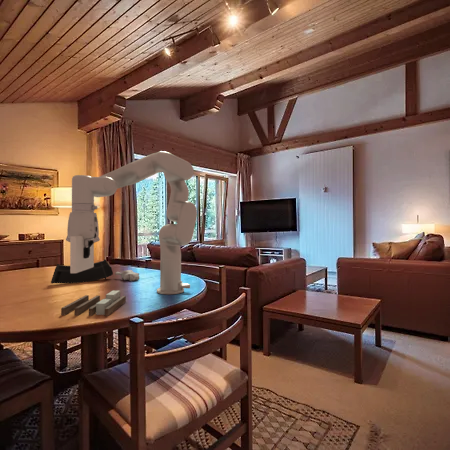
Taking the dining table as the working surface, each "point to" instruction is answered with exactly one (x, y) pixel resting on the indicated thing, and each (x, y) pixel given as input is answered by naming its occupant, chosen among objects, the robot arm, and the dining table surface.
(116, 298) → the large offcut
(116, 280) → the dining table surface
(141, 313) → the dining table surface
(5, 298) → the dining table surface
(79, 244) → the tall sheet
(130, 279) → the bunny figurine
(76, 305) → the rack
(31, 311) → the dining table surface
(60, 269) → the magazine
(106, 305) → the small offcut
